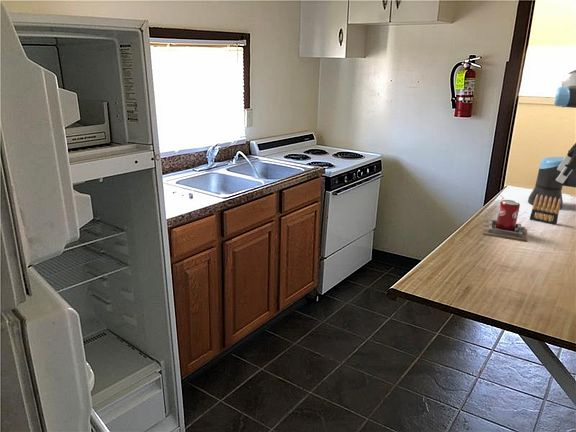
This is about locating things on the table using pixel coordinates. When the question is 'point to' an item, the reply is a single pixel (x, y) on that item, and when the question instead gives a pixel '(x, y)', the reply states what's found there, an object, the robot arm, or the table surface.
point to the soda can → (507, 215)
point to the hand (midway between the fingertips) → (559, 176)
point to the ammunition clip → (547, 213)
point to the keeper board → (504, 231)
